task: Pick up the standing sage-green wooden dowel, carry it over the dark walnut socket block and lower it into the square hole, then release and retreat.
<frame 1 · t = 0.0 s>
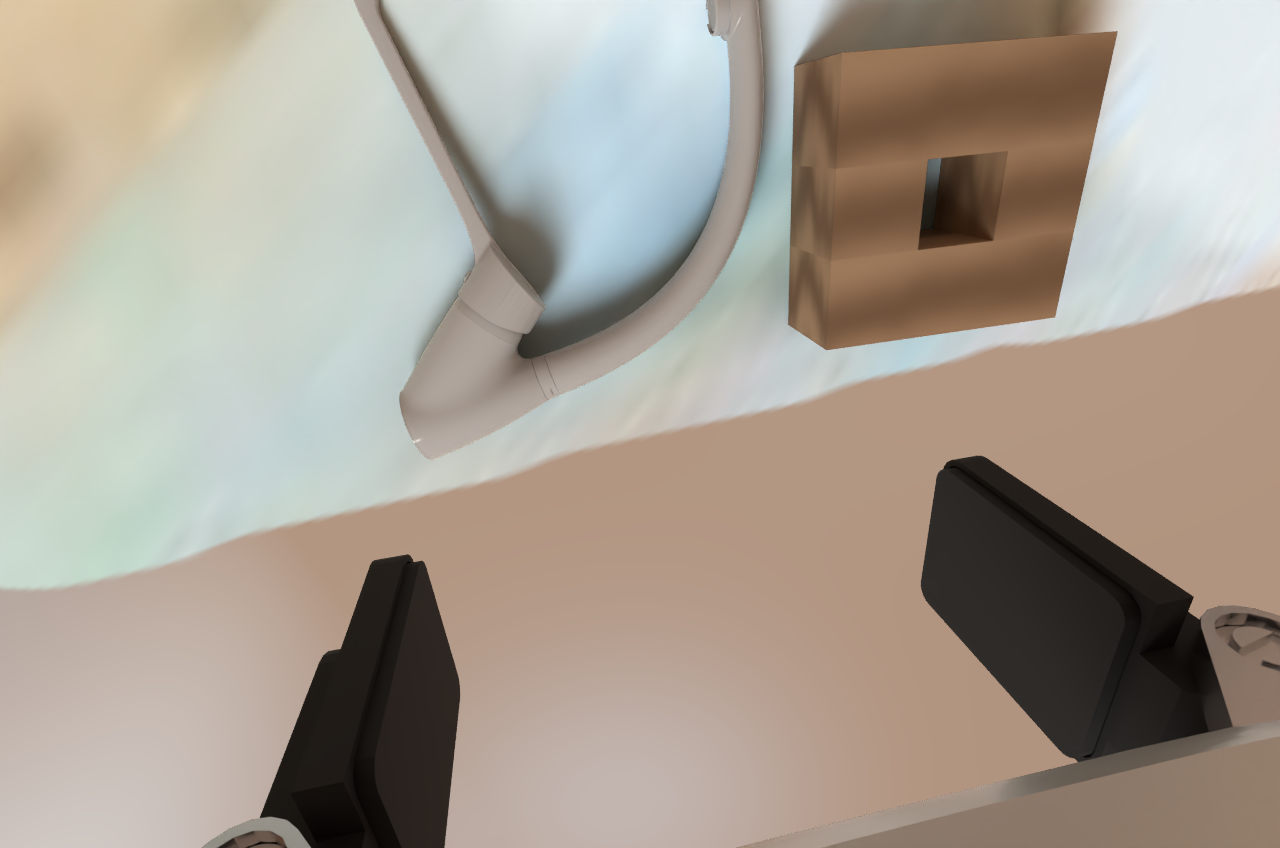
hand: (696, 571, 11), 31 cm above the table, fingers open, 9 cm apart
socket block: (903, 194, 41), on the table
faucet: (552, 162, 37), on the table
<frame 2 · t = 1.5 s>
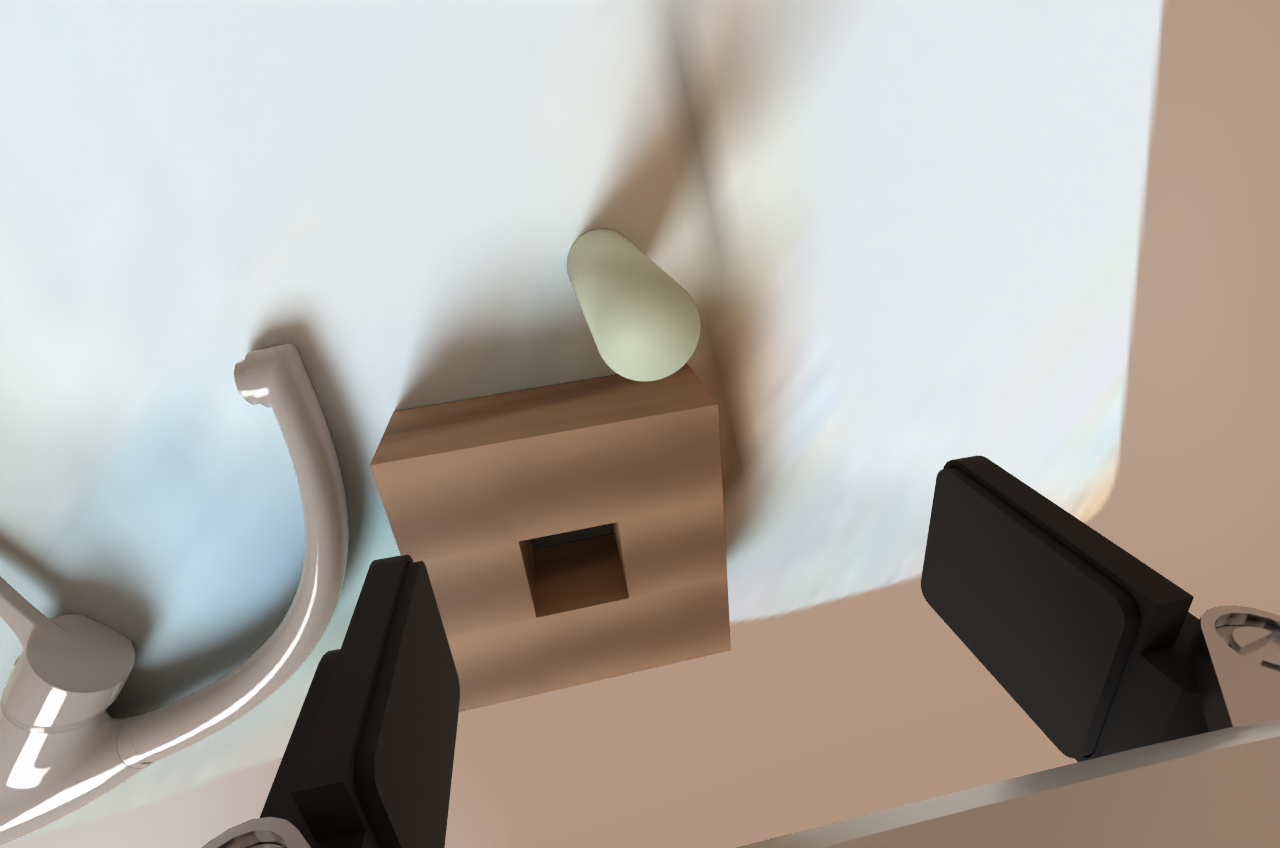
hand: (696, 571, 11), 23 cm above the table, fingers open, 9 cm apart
socket block: (567, 508, 37), on the table
faucet: (117, 520, 33), on the table
peg: (602, 265, 31), on the table
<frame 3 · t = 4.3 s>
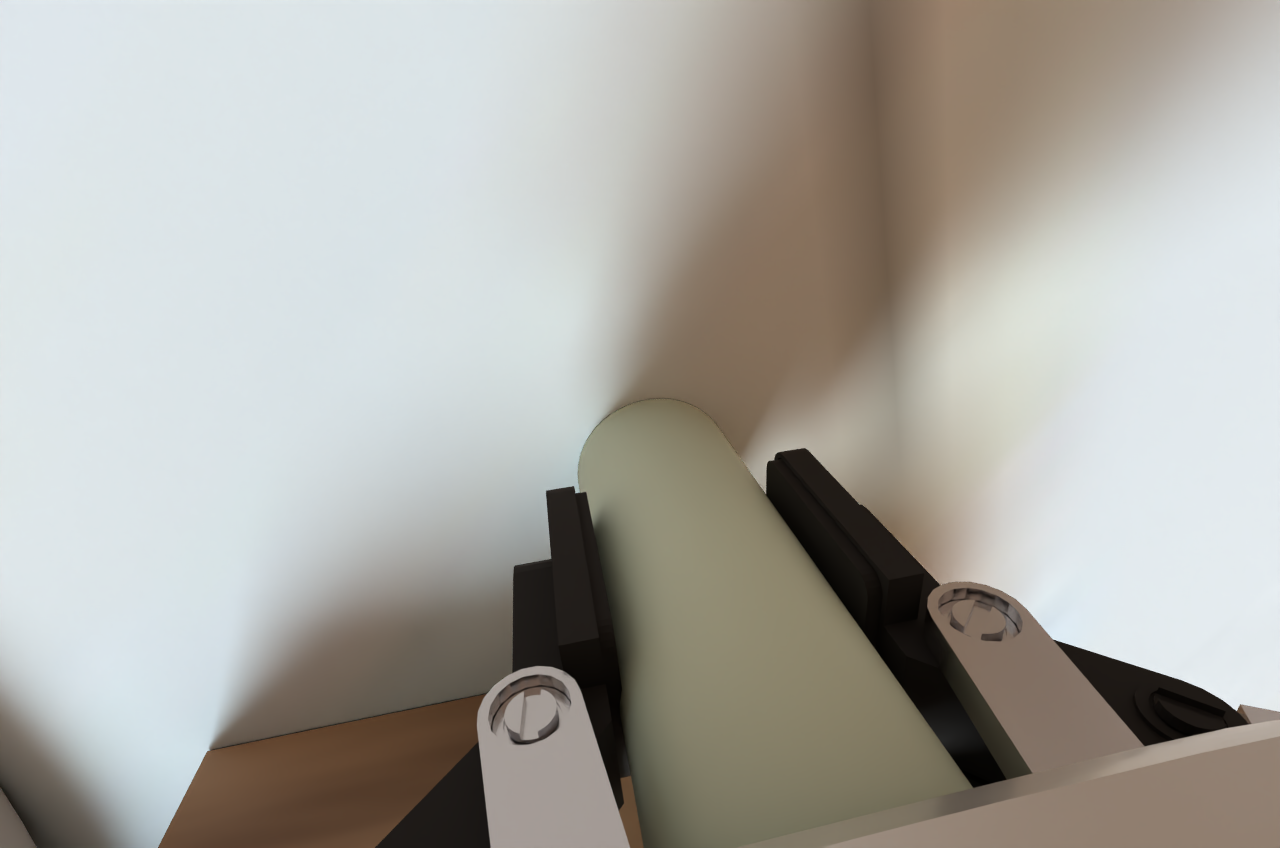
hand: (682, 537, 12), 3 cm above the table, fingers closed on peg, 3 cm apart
peg: (654, 469, 14), on the table, touching gripper
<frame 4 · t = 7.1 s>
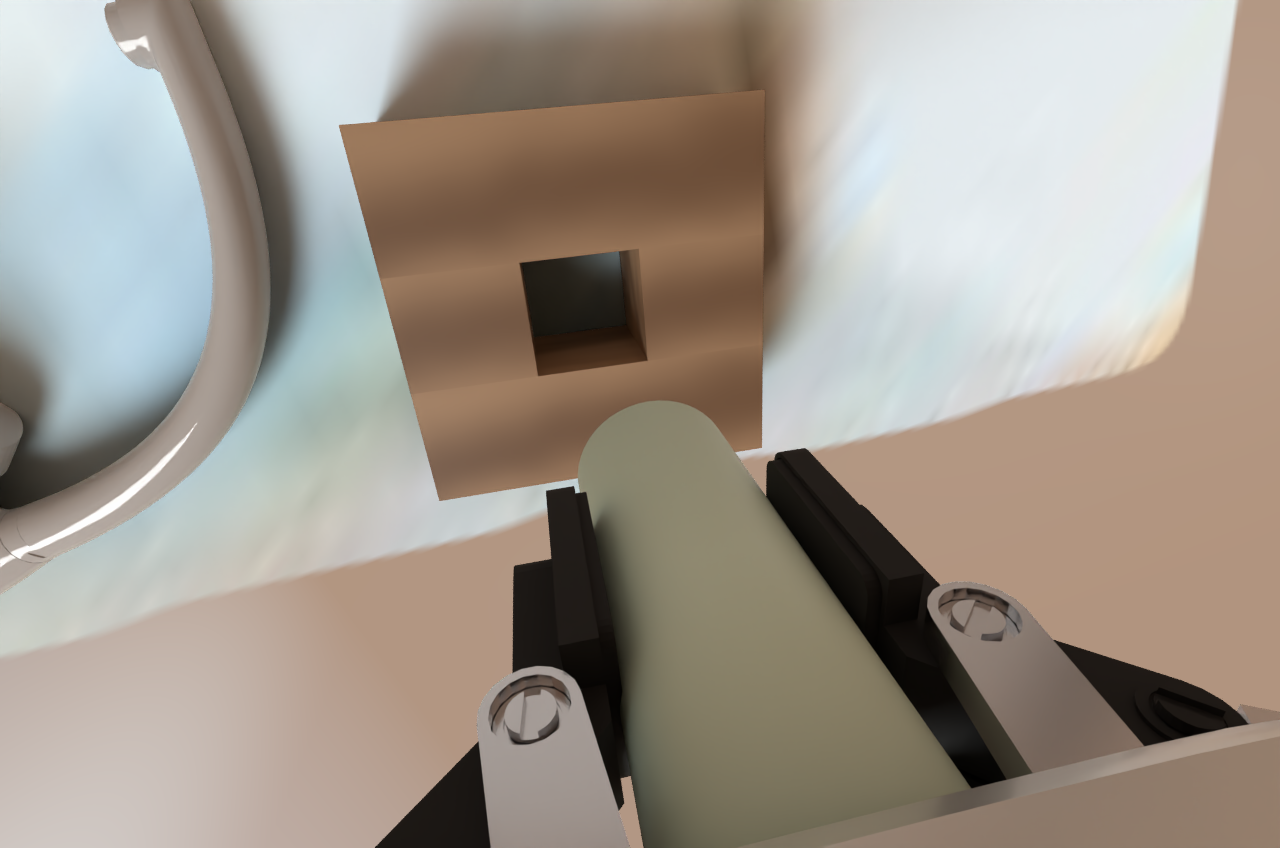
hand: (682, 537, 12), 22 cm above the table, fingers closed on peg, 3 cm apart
socket block: (574, 284, 32), on the table
peg: (654, 471, 14), point 20 cm above the table, touching gripper
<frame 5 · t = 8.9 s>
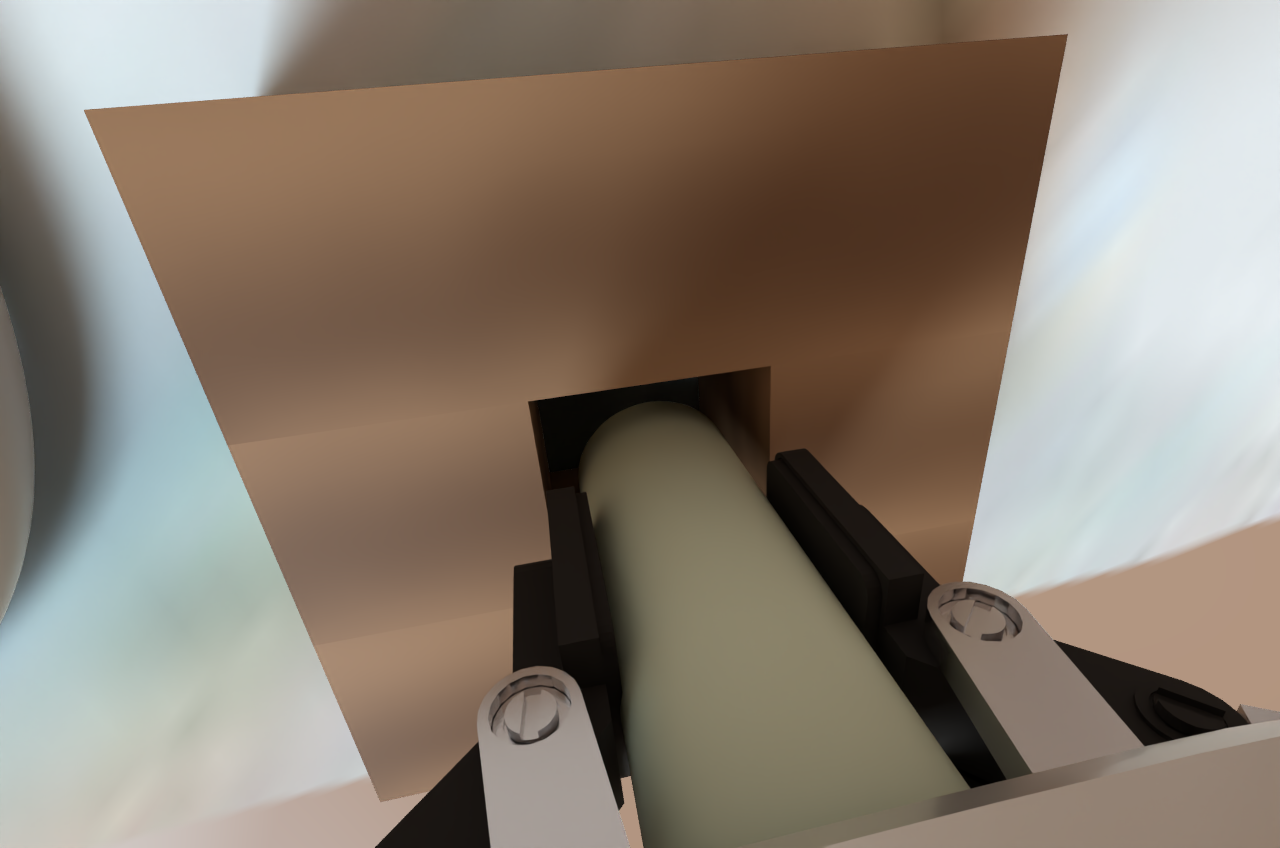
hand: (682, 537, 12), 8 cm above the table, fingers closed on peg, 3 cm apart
socket block: (619, 388, 19), on the table
peg: (654, 471, 14), point 5 cm above the table, touching gripper
when the fingers open (7 cm above the table, at t = 10.1 s): peg drops 4 cm, resting in socket block.
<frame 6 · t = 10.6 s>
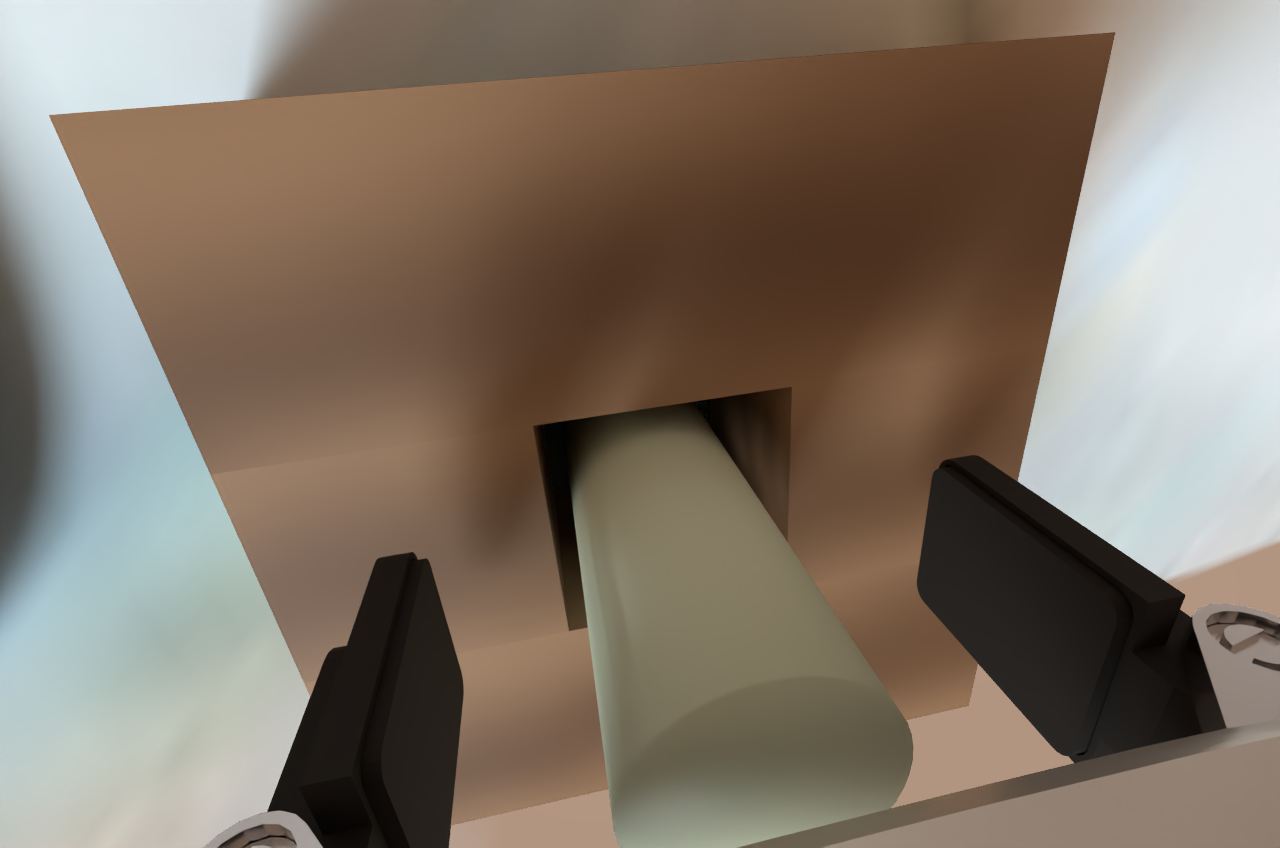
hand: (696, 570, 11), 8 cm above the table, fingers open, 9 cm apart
socket block: (626, 404, 18), on the table
peg: (621, 405, 18), resting in socket block
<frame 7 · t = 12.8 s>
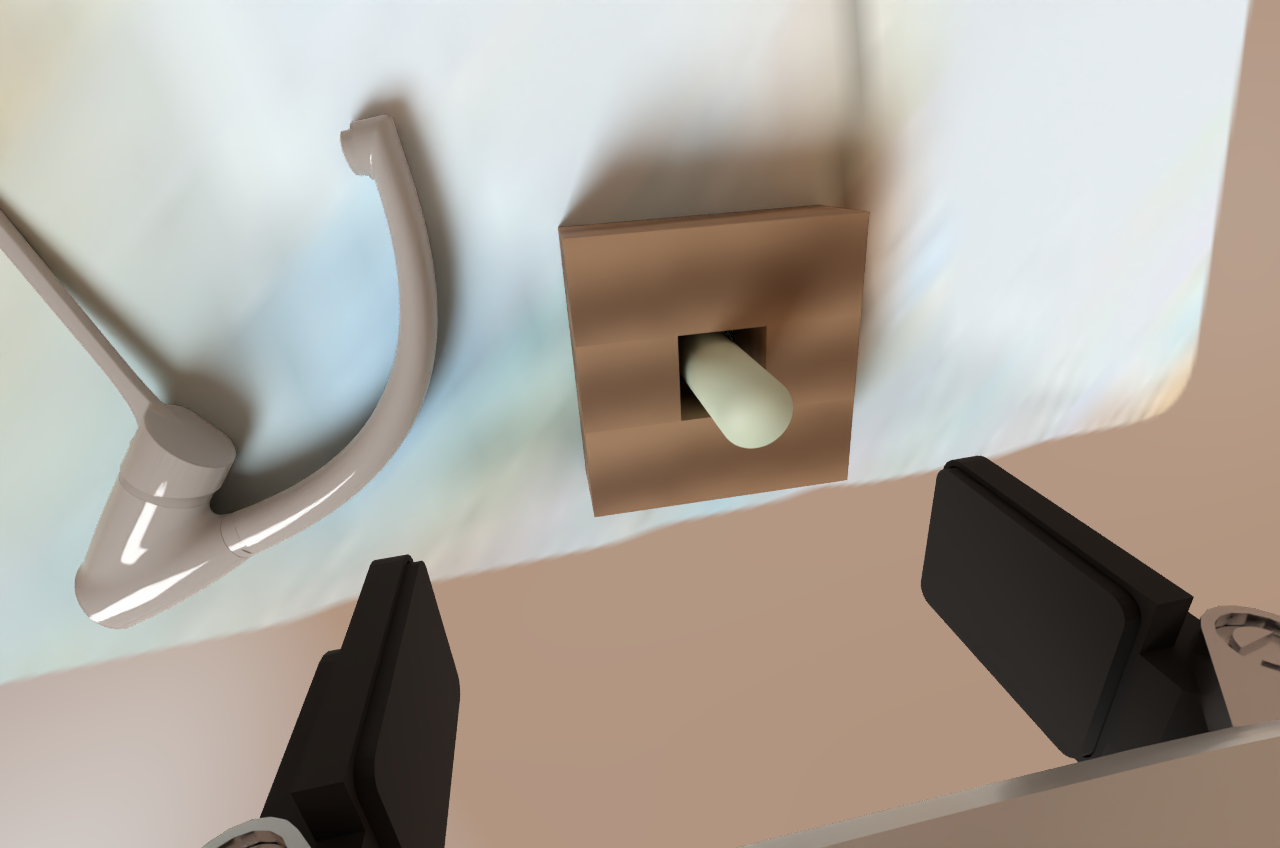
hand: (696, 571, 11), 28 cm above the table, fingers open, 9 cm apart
socket block: (696, 345, 39), on the table
faucet: (223, 311, 34), on the table
peg: (693, 345, 39), resting in socket block
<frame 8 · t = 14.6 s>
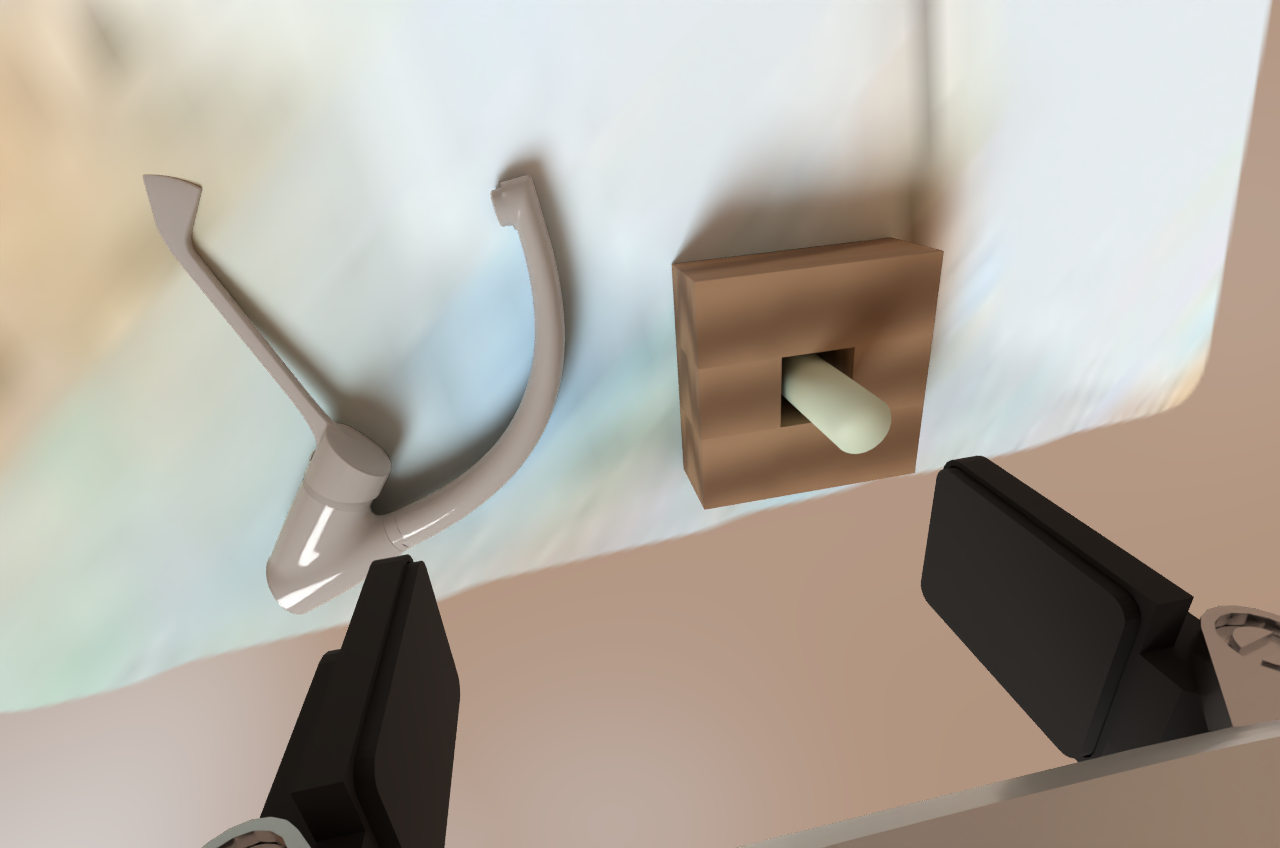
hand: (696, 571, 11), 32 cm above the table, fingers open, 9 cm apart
socket block: (781, 359, 46), on the table
faucet: (380, 342, 40), on the table
peg: (779, 359, 45), resting in socket block
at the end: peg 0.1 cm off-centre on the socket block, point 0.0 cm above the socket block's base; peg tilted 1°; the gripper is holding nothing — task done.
